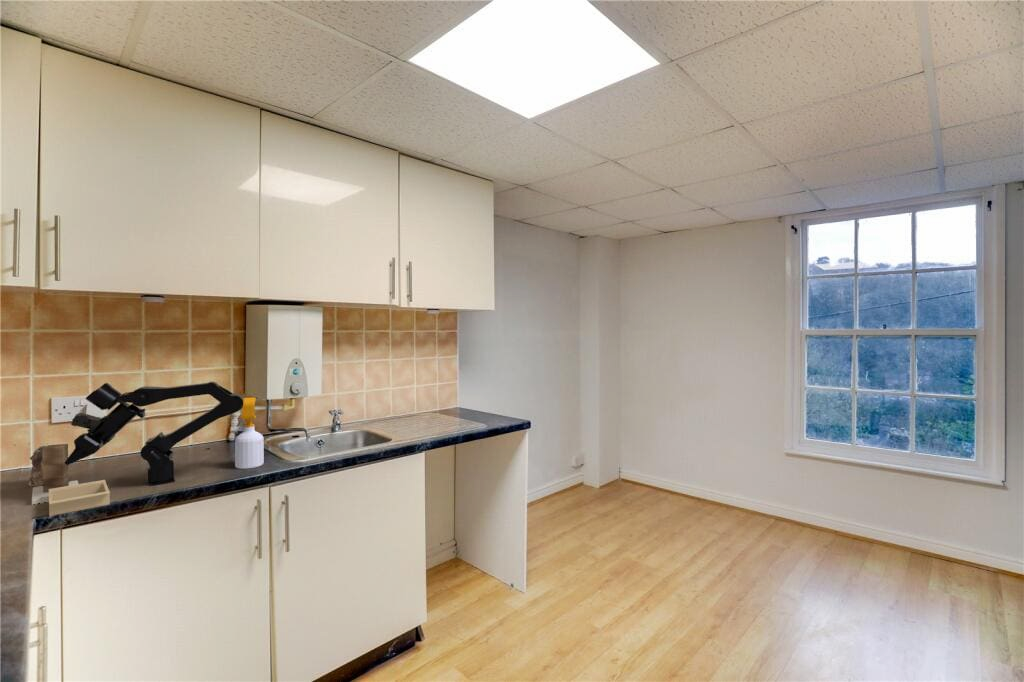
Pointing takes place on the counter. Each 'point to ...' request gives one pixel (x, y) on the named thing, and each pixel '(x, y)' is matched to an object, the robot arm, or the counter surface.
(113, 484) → the counter surface
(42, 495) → the tile
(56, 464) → the walnut box
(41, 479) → the figurine
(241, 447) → the soap bottle
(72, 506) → the light wooden tray
